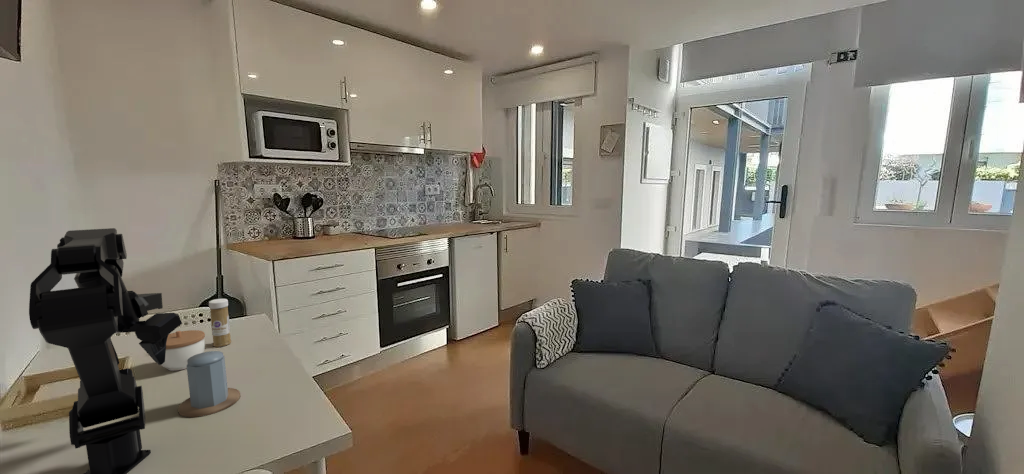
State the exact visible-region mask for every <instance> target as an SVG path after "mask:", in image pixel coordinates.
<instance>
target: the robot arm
mask: <svg viewBox="0 0 1024 474" xmlns="http://www.w3.org/2000/svg"><path fill="white" fill-rule="evenodd" d="M117 231H118V230H117V229H116V228H114V227H113V228H96V229H95V228H94V229H92V228H91V229H76V230H73V229H72V230H67V231H66V232H65V234H64V236H62V237H61V238H60V239H59V243H58V244H57V246H56V247H57V248H52V249H51V252H50V264H49V265H48V266H47V267H46V268H45V269H43V271H42V272H40V273H39V275H38V276H36V278H35V279H33V280H32V282H31V283H30V289H29V303H28V305H29V306H28V316H29V322H30V325H31V328H32V329H33V330H38V331H39V333H40V335H41V336H42V338H43V340H44V341H45V342H46V343H47V344H50V345H53V346H58V347H61V348H67V350H68V352H69V355H70V358H71V360H72V363H73V365H74V368H75V370H76V373H77V376H78V378H79V380H80V381H79V388H78V389H77V400H75V401H74V402H73V405H72V409H71V410H70V411H69V412H68V422H69V423H68V427H69V428H68V429H69V432H68V433H69V441H70V445H71V446H74V449H75V450H76V449H80V448H81V447H84V446H85V449H86V454H87V455H86V456H87V462H88V467H89V469H87V470H86V471H85V472H84V473H83V474H127V473H129V472H130V471H131V470H132V469H134V468H135V467H136V466H137V465H139V463H141V462H143V460H144V459H146V458H147V457H148V456H149V455H150V454H151V451H152V450H151V449H143V444H142V436H141V431H142V430H145V429H146V409H145V402H144V401H145V400H144V390H143V387H142V386H143V385H137V381H136V378H135V376H134V374H133V369H130V368H129V367H127V368H122V369H119V365H120V361H119V356H118V354H117V351H116V349H115V346H114V344H113V341H112V339H111V337H112V336H113V335H115V334H121V333H122V334H123V333H134V334H135V336H136V339H138V340H140V341H139V343H138V345H139V346H140V347H141V348H142V349H143V350H144V351H145V352H146V354H147V355H148V356H150V358H151V359H152V360H153V361H154V362H155V364H157V365H158V366H161V365H162V364H163V363H164V362H165V354H166V342H167V338H168V335H169V334H171V333H173V331H175V330H176V329H177V328H178V327H180V326H181V325H182V324H183V322H182V320H181V316H180V315H179V314H178V313H176V312H160V313H159V312H158V313H154V315H151V316H150V317H149V318H147V319H146V320H140V319H141V318H144V317H146V316H147V315H149V312H148V311H152V310H157V309H158V310H160V309H164V308H163V306H164V305H163V293H162V292H153V293H137V292H136V291H134V290H127V287H126V285H125V282H124V280H123V278H122V277H123V272H124V264H125V262H124V260H127V256H128V254H127V250H126V245H125V240H124V236H123V234H122V233H118V232H117ZM73 274H75V275H74V278H73V280H74V282H75V283H76V286H77V287H74V288H67V289H59V290H53V289H54V288H55V287H56V286H57V285H58V284H59V282H60V281H62V278H63V275H64V276H65V275H73ZM137 414H138V415H137ZM133 415H137V416H133ZM131 416H133V417H131ZM126 417H129V418H126ZM122 418H126V419H122ZM119 419H121V420H119ZM115 420H118V421H115ZM112 421H115V422H112ZM107 422H110V423H109V424H108V423H107ZM104 423H105V424H104ZM106 423H107V424H106ZM100 424H104V425H100ZM97 425H100V426H97ZM94 426H96V427H94ZM90 427H91V428H90ZM86 428H89V429H86ZM85 429H86V430H85Z"/></svg>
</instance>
